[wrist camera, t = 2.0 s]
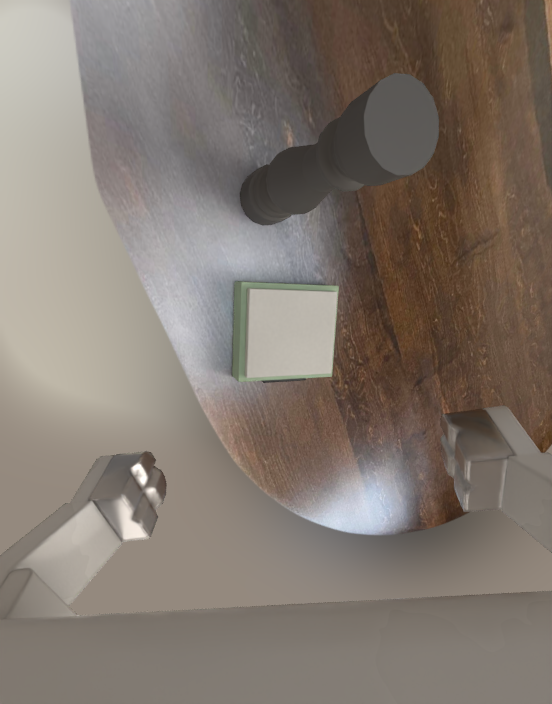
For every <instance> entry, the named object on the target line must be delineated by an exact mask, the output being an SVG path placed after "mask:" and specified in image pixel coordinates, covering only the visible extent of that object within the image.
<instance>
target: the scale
mask: <svg viewBox="0 0 552 704" xmlns="http://www.w3.org/2000/svg"><path fill="white" fill-rule="evenodd" d="M338 289H339V286H331V285H309V284H286V283H263V282H240V281H235V284H234V324H233V363H232V376H233V377H234V378H235V379H236V380H237V381H238V382H246V381H262V382H263V383H267V382H284V381H300V380H306V378H315V377H332V368H333V355H334V341H335V328H336V315H337V302H338Z"/></svg>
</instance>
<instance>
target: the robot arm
mask: <svg viewBox="0 0 552 704" xmlns="http://www.w3.org/2000/svg"><path fill="white" fill-rule="evenodd" d="M440 426H441V428H442V430H443V433H444V435H443V436H442V437H441V438H440V441H441V452H442V458H443V461H444V464H445V467H446V470H447V472H448V474H449V475H450V476H452V477H453V478H454V489H455V492H456V494H457V496H458V499H459V501H460V503H461V506H462V508H463V510H464V512H468V511H483V510H484V511H485V510H502V512H503V513H504V514H505V515H507V516H508V517H509V518H510V519H512V520H513V521H514V522H515V523H516V524H518V525H519V526H520V527H521V528H522V529H524V530H525V531H526V532H527V533H528V534H529V535H531V536H532V537H533V538H534V539H535V540H537V541H538V542H539V543H540V544H542V545H543V546H544V547H545V548H546V549H547V550H549V551H550V552H551V553H552V454H550V453H541V452H540V451H539V449H538V448H537V447H536V445H535V444H534V443H533V441H532V440H531V438H530V437H529V436H528V434H527V433H526V432H525V430H524V429H523V427H522V426H521V425H520V423H519V422H518V421H517V419H516V418H515V416H514V415H513V414H512V412H511V411H510V410H509V408H508V407H506V406H497V407H489V408H483V409H476V410H469V411H461V412H454V413H446V414H442V415H441V419H440ZM155 461H156V459H155V458H154V456H153V455H152V453H151V452H136V453H127V454H117V455H111V456H101V457H100V458H98V459H97V460H96V461H95V463H94V464H93V466H92V468H91V469H90V471H89V472H88V474H87V476H86V477H85V479H84V481H83V482H82V484H81V486H80V488H79V489H78V491H77V492H76V494H75V496H74V497H73V499H72V501H71V502H70V503H65V504H64V505H63V506H61V507H60V508H59V509H58V510H56V511H55V512H54V513H53V514H51V515H50V516H49V517H48V518H46V519H45V520H44V521H43V522H41V523H40V524H39V525H38V526H36V527H35V528H34V529H33V530H31V531H30V532H29V533H28V534H26V535H25V536H24V537H22V538H21V539H20V540H19V541H18V542H16V543H15V544H14V545H12V546H11V547H10V548H9V549H7V550H6V551H5V552H4V553H2V554H1V555H0V704H552V591H542V592H541V591H540V592H521V593H502V594H482V595H463V596H445V597H424V598H405V599H387V600H368V601H367V600H366V601H349V602H328V603H308V604H289V605H271V606H252V607H232V608H214V609H194V610H176V611H175V610H174V611H156V612H136V613H116V614H96V615H77V614H76V613H75V612H74V611H73V610H72V609H71V608H70V607H69V605H70V604H71V603H72V602H73V601H74V600H75V598H76V597H77V596H78V595H79V594H80V593H81V591H82V590H83V589H84V588H85V587H86V585H87V584H88V583H89V582H90V580H92V579H93V577H94V576H95V575H96V574H97V573H98V571H99V570H100V569H101V568H102V567H103V566H104V565H105V563H106V562H107V561H108V560H109V559H110V558H111V556H112V555H113V554H114V553H115V552H116V550H117V549H118V548H119V547H120V546H121V545H122V542H124V541H132V540H141V539H150V537H151V534H152V532H153V529H154V526H155V523H156V521H157V518H158V516H157V513H156V511H155V510H156V509H157V508H158V507H159V506H160V505H161V504H163V501H164V498H165V495H166V480H165V476H164V475H163V472H162V471H161V470H160V469H158V468H156V467H155V466H154V464H155Z"/></svg>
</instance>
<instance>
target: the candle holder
mask: <svg viewBox="0 0 552 704" xmlns="http://www.w3.org/2000/svg"><path fill="white" fill-rule="evenodd" d="M438 136H439V117H438V113H437V110H436V106H435V103H434V99H433V97H432V96H431V94H430V93H429V91H428V90H427V88H426V87H425V85H424V84H423V83H422V82H420V81H419V80H417V79H416V78H414V77H413V76H411V75H409V74H396V73H394V74H392V75H390V76H388V77H386V78H384V79H382V80H380V81H379V82H378V83H376V84H375V85H374V86H372V87H371V88H369V89H368V90H367V91H365V92H364V93H363V94H361V95H360V96H359V97H357V98H356V99H355V100H353V101H352V102H351V103H350V104H349V106H348V107H347V108H346V110H345V111H344V112H343V114H342V115H341V117H339V118H337V119H335V120H334V121H332V122H330V123H329V124H328V125H327V126H326V127H325V129H324V130H323V131H322V133H321V134H320V136H319V140H318V143H316V144H315V145H307V146H299V147H290V148H288V149H286V150H284V151H282V152H280V153H279V154H277V155H276V157H275V158H274V159H273V161H272V162H271V163H270V165H265V166H263V167H261V168H259V169H257V170H256V171H255V172H253V173H252V174H251V175H249V176H248V178H247V179H246V180H245V182H244V183H243V184H242V188H241V192H240V199H241V206H242V208H243V210H244V212H245V214H246V215H247V216H248V217H249V218H250V219H251V220H252V221H253V222H255V223H258V224H261V225H272V224H275V223H278V222H281V221H283V220H285V219H287V218H288V217H290V216H291V215H295V214H305V213H307V212H309V211H310V210H312V209H314V208H316V206H317V205H318V204H319V203H320V202H321V201H322V200H323V199H324V198H325V197H326V196H327V195H328V194H329V193H330V192H331V191H332V190H333V189H338V190H340V191H355V190H358V189H359V188H361V187H363V186H364V185H367V186H375V185H383V184H386V183H389V182H392V181H394V180H397V179H400V178H403V177H406V176H409V175H412V174H413V173H415V172H417V171H418V170H420V169H422V168H423V167H424V166H425V165H426V163H427V162H428V161H429V159H430V158H431V156H432V155H433V153H434V150H435V147H436V143H437V140H438Z"/></svg>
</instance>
